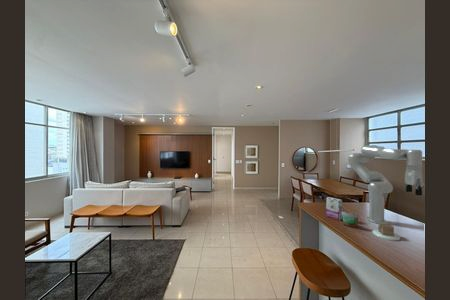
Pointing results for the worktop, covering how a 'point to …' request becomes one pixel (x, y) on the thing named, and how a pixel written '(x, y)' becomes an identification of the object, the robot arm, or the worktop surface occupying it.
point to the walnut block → (386, 229)
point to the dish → (393, 238)
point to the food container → (350, 219)
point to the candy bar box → (334, 208)
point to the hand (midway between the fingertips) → (413, 193)
